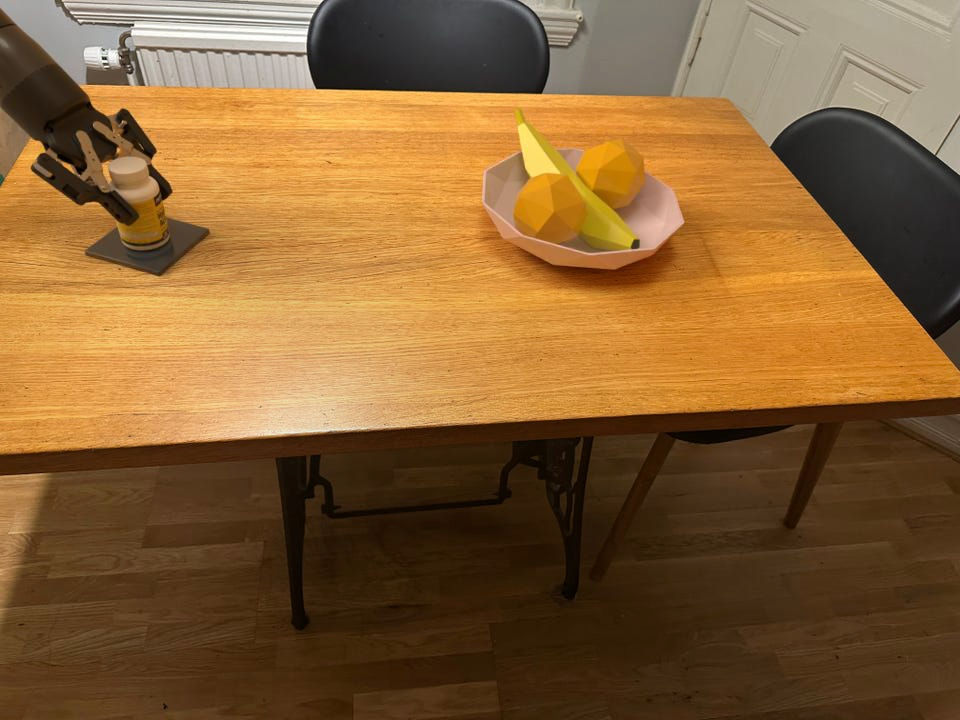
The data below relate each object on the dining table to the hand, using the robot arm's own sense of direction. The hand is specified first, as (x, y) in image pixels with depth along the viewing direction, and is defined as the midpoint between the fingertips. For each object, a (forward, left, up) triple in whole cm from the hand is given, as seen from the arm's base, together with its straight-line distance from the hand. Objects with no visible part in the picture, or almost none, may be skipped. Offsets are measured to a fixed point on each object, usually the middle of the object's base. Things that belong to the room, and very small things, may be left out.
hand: (151, 208), depth 80 cm
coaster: (0, +2, -5) cm, 6 cm away
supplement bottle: (0, +2, -5) cm, 5 cm away
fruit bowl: (+26, -45, -6) cm, 53 cm away
